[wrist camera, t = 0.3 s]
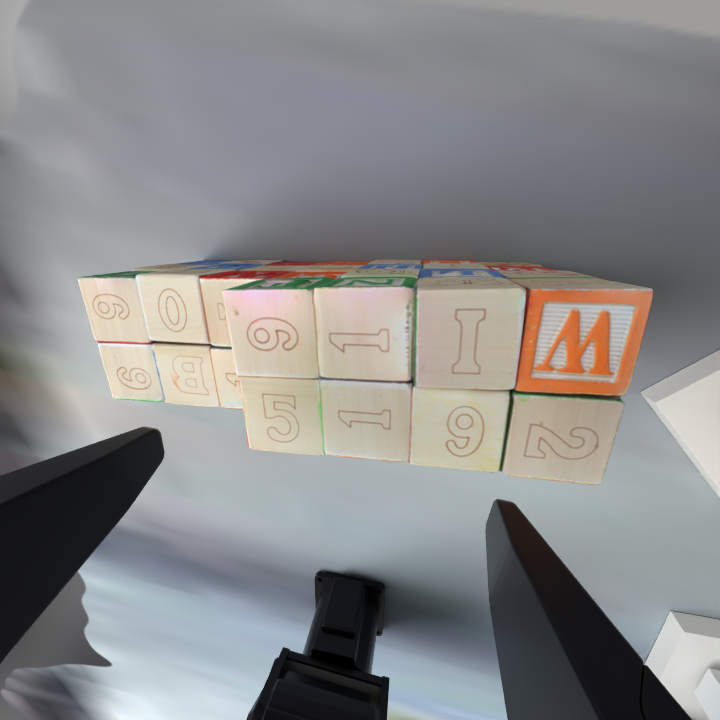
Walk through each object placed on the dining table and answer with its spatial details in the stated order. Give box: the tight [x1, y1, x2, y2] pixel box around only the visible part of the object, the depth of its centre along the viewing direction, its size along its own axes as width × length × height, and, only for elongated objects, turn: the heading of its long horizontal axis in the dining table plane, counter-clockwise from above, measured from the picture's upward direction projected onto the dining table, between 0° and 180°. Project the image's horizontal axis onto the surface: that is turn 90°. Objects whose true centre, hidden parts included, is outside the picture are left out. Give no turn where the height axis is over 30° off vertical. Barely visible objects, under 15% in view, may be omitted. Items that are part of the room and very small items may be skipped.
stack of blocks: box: [78, 260, 653, 485], centre depth 17 cm, size 21×6×12 cm, turn 91°
